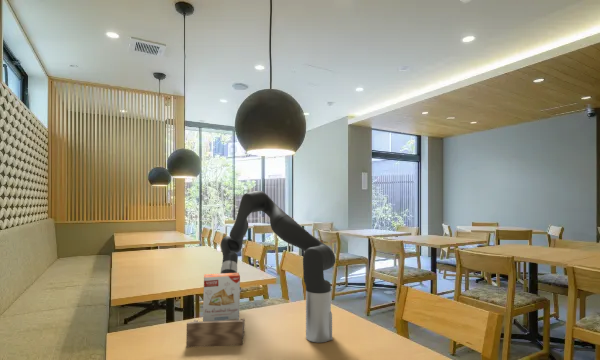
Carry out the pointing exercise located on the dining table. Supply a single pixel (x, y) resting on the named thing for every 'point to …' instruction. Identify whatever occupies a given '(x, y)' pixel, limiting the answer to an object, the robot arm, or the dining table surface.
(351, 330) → the dining table surface
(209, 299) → the cracker box
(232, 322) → the walnut rack
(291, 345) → the dining table surface
